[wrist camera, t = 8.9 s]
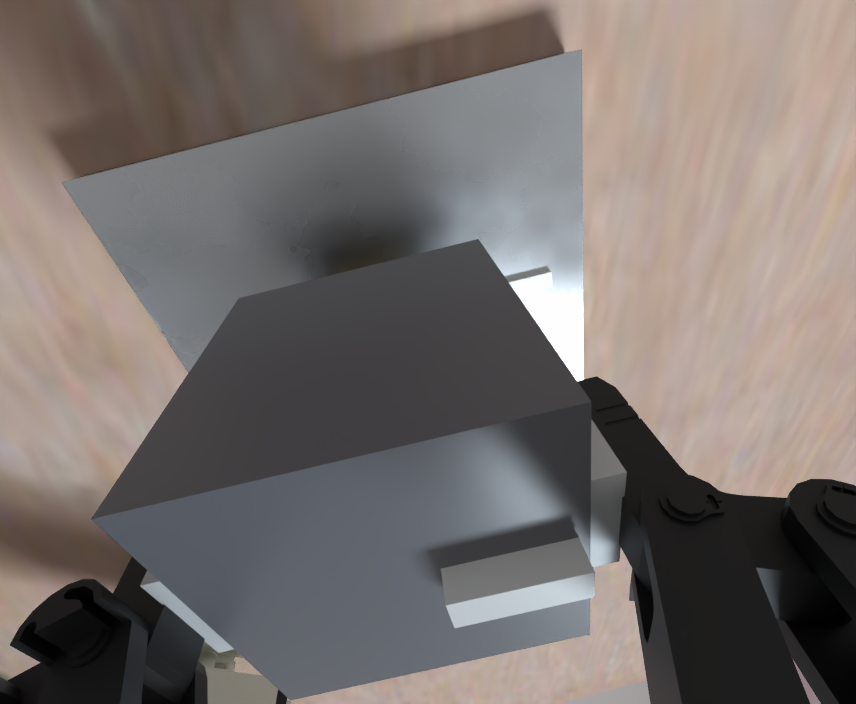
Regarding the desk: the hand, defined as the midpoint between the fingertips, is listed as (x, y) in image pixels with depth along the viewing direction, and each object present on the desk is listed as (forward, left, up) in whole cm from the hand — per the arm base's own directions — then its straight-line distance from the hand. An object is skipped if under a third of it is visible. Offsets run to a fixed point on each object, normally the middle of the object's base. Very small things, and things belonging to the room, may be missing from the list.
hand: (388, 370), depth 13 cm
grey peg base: (0, 0, -5) cm, 5 cm away
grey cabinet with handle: (0, 0, 0) cm, 0 cm away
